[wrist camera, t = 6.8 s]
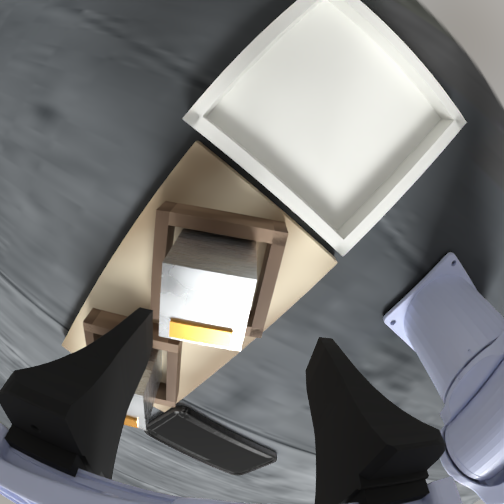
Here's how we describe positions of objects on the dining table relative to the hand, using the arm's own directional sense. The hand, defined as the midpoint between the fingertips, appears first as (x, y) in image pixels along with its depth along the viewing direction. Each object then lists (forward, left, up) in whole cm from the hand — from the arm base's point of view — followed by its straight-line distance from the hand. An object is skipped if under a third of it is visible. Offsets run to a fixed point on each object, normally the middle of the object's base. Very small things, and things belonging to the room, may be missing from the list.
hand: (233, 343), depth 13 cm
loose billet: (+1, +1, -8) cm, 8 cm away
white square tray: (+2, -11, -9) cm, 15 cm away
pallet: (+1, +7, -9) cm, 12 cm away
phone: (-13, +21, -10) cm, 27 cm away
